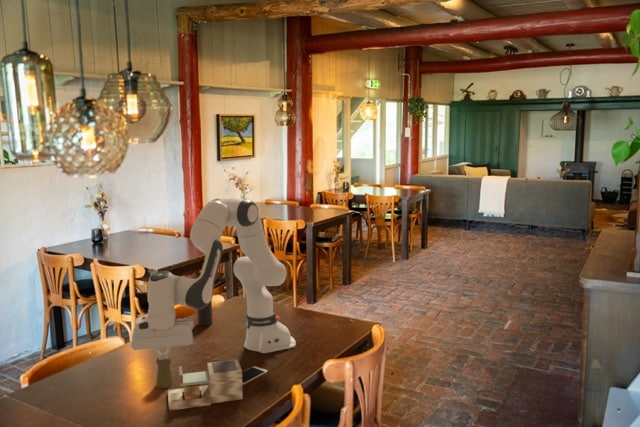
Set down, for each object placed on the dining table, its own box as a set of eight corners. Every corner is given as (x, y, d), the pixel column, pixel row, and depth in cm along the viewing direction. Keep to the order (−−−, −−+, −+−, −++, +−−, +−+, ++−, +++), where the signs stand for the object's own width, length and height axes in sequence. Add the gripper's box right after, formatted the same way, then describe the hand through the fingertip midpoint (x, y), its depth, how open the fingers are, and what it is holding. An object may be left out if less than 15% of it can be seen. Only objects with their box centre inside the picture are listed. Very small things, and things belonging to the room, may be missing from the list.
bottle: (200, 321, 270) (199, 282, 267) (214, 322, 269) (213, 282, 266) (195, 326, 263) (194, 285, 260) (209, 327, 262) (208, 286, 259)
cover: (219, 372, 198) (218, 361, 198) (221, 381, 191) (221, 370, 191) (179, 377, 194) (178, 366, 194) (180, 386, 187) (179, 375, 187)
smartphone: (268, 370, 215) (241, 384, 203) (268, 372, 215) (241, 386, 203) (254, 365, 220) (227, 379, 208) (254, 367, 220) (227, 380, 208)
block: (198, 394, 196) (198, 379, 195) (199, 401, 191) (199, 385, 190) (184, 396, 195) (183, 380, 194) (185, 403, 190) (184, 387, 189)
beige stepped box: (237, 385, 204) (237, 357, 202) (243, 400, 192) (242, 371, 190) (168, 394, 196) (166, 365, 195) (169, 410, 185) (167, 380, 183)
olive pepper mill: (174, 380, 207) (173, 353, 205) (171, 388, 201) (169, 359, 199) (158, 380, 207) (157, 353, 205) (154, 388, 201) (153, 360, 199)
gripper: (192, 314, 192) (193, 352, 194) (130, 319, 186) (132, 358, 188) (194, 320, 186) (194, 359, 188) (130, 325, 180) (131, 365, 182)
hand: (163, 358), depth 188 cm, fingers closed
